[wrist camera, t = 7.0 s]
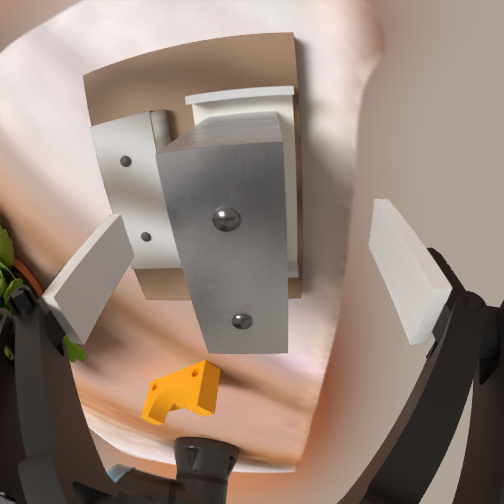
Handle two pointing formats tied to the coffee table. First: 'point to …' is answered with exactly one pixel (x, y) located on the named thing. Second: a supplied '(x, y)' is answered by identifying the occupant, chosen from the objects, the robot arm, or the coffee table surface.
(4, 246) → the potted flower
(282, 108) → the leaf seat
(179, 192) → the leaf block
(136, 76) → the hinge board
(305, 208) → the coffee table surface
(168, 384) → the pipe clamp
